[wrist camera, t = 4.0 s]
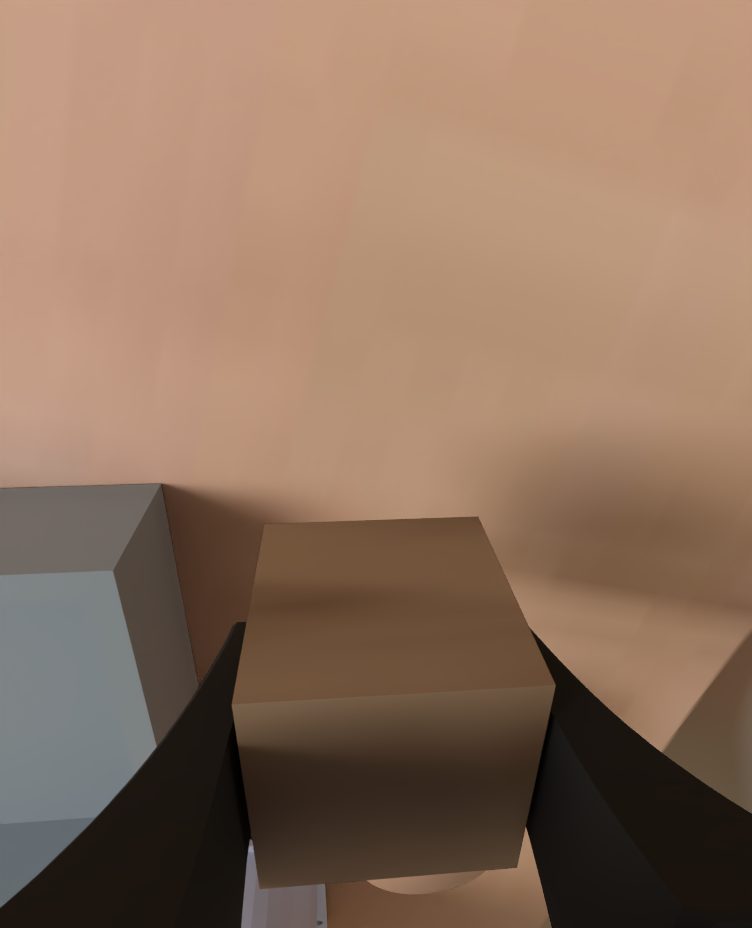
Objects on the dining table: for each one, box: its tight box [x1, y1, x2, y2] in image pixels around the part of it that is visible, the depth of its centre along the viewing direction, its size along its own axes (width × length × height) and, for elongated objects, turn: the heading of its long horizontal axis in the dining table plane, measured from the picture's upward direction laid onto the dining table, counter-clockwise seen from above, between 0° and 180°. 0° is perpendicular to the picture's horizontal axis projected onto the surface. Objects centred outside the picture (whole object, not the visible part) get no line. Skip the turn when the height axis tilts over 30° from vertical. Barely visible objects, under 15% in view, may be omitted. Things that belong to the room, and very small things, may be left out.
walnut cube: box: [232, 517, 556, 889], centre depth 12 cm, size 5×5×5 cm
